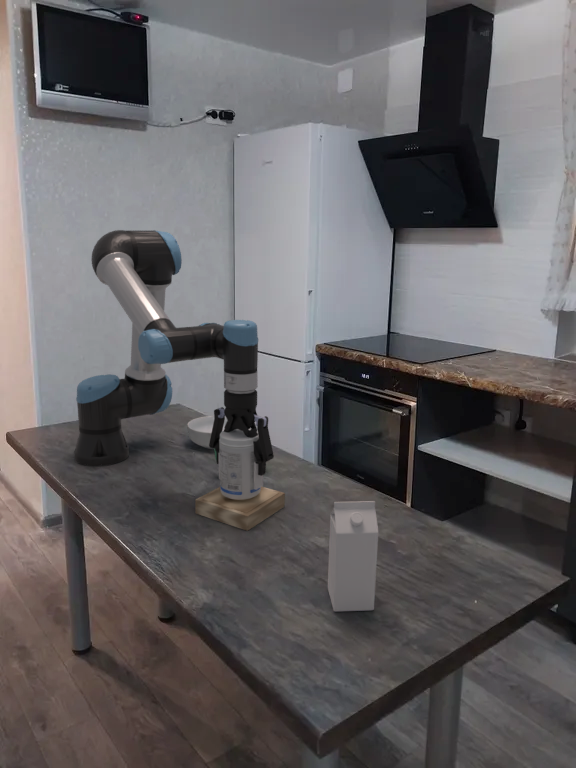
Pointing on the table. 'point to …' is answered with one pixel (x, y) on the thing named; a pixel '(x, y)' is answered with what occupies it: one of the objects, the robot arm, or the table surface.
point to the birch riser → (240, 507)
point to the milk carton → (352, 556)
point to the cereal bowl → (202, 430)
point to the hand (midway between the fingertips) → (240, 482)
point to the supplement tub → (237, 465)
